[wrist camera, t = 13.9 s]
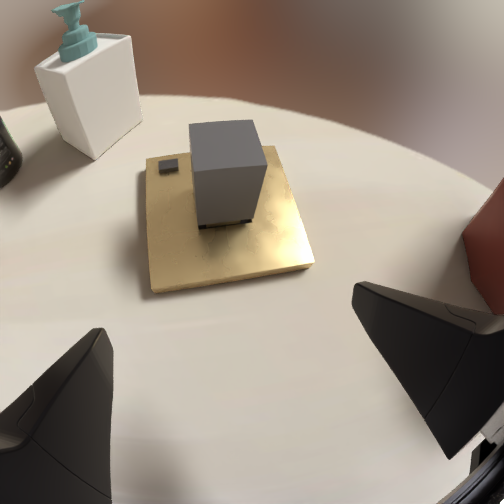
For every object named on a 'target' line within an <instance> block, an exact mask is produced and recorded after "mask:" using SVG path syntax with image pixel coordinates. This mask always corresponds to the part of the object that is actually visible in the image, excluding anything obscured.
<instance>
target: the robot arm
mask: <svg viewBox="0 0 504 504" xmlns="http://www.w3.org/2000/svg"><path fill="white" fill-rule="evenodd" d="M352 307H353V309H354V311H355V313H356V315H357V316H358V318H359V320H360V322H361V323H362V325H363V327H364V329H365V331H366V332H367V334H368V336H369V338H370V339H371V341H372V342H373V343H374V345H375V346H376V348H377V349H378V351H379V352H380V354H381V355H382V356H383V358H384V359H385V361H386V362H387V364H388V365H389V367H390V368H391V370H392V371H393V373H394V374H395V375H396V377H397V378H398V380H399V381H400V383H401V384H402V386H403V387H404V389H405V391H406V392H407V394H408V395H409V397H410V398H411V400H412V401H413V403H414V404H415V406H416V408H417V409H418V411H419V412H420V414H421V415H422V417H423V419H424V420H425V422H426V424H427V425H428V427H429V428H430V430H431V432H432V433H433V435H434V437H435V438H436V440H437V442H438V443H439V445H440V447H441V448H442V450H443V452H444V454H445V455H446V457H447V458H448V459H449V460H450V459H451V458H453V457H454V456H455V455H456V454H457V453H458V452H460V451H461V450H462V449H463V448H464V447H465V446H466V445H467V444H468V443H469V442H470V441H471V440H473V439H474V438H475V437H476V436H477V435H478V434H479V433H480V432H481V434H482V435H483V436H484V437H485V439H484V440H483V441H482V442H481V443H480V444H479V445H478V446H477V447H476V448H475V449H474V450H473V451H472V457H471V465H470V473H469V476H468V477H467V478H466V479H465V480H464V481H463V482H462V483H460V484H459V485H458V486H457V487H456V488H455V489H454V490H452V491H451V492H450V493H449V494H448V495H446V496H445V497H444V498H443V499H442V500H440V501H439V502H438V503H436V504H504V315H494V314H490V313H485V312H480V311H475V310H470V309H466V308H462V307H458V306H454V305H450V304H446V303H442V302H439V301H435V300H432V299H428V298H424V297H421V296H417V295H413V294H410V293H406V292H403V291H399V290H395V289H392V288H388V287H384V286H381V285H377V284H373V283H370V282H366V281H363V282H359V283H356V284H355V285H354V289H353V296H352ZM112 401H113V347H112V345H111V342H110V340H109V338H108V335H107V333H106V331H105V329H104V328H93V329H92V330H90V331H89V332H88V333H87V334H86V335H85V336H84V337H83V338H81V339H80V340H79V341H78V342H77V343H76V344H75V345H74V346H72V347H71V348H70V349H69V350H68V351H67V352H66V353H65V354H64V355H63V356H61V357H60V358H59V359H58V360H57V361H56V362H55V363H54V364H53V365H52V366H51V367H50V368H49V369H47V370H46V371H45V372H44V373H43V374H42V375H41V376H40V377H39V378H38V379H37V380H36V381H35V382H34V383H33V385H31V386H30V387H29V388H28V389H27V390H26V391H25V392H23V393H22V394H21V395H20V396H19V397H18V398H17V399H16V400H15V401H14V402H13V403H11V404H10V405H9V406H8V407H7V408H6V409H5V410H3V411H2V412H1V413H0V504H112V500H111V479H110V434H111V414H112Z"/></svg>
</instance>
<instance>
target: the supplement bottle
mask: <svg viewBox="0 0 504 504" xmlns="http://www.w3.org/2000/svg"><path fill="white" fill-rule="evenodd" d="M21 163H22V153H21V151H20V150H19V148H18V146H17V144H16V143H15V141H14V139H13V138H12V136H11V134H10V133H9V131H8V129H7V127H6V125H5V124H4V122H3V120H2V118H1V116H0V188H1V187H3V186H4V185H6V184H7V183H8V182H9V181H10V180H11V179H12V178H13V177H14V176H15V175H16V173H17V172H18V170H19V168H20V166H21Z"/></svg>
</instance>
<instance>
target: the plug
mask: <svg viewBox="0 0 504 504" xmlns="http://www.w3.org/2000/svg"><path fill="white" fill-rule="evenodd" d="M189 139H190V156H191V171H192V183H193V192H194V200H195V208H196V216H197V223H198V226H199V225H206V227H213V226H221V225H229V224H236V223H240V222H241V220H245V219H253V218H254V214H255V211H256V207H257V203H258V199H259V196H260V192H261V188H262V185H263V181H264V177H265V174H266V170H267V166H268V164H267V161H266V158H265V155H264V152H263V149H262V146H261V143H260V140H259V137H258V134H257V131H256V128H255V126H254V123H253V120H233V121H217V122H205V123H195V124H189Z"/></svg>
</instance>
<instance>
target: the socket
mask: <svg viewBox="0 0 504 504" xmlns="http://www.w3.org/2000/svg"><path fill="white" fill-rule="evenodd" d="M262 149H263V152H264V155H265V158H266V161H267V164H268V166H267V170H266V174H265V177H264V181H263V185H262V188H261V192H260V196H259V199H258V203H257V207H256V211H255V214H254V218H253V219H245V220H241V222H240V223H236V224H229V225H221V226H213V227H206V225H199V226H198V223H197V216H196V208H195V200H194V192H193V183H192V171H191V156H190V153H182V154H174V155H168V156H161V157H155V158H149V159H146V223H147V244H148V259H149V271H150V282H151V289H152V290H153V292H154V293H161V292H168V291H175V290H182V289H188V288H195V287H201V286H207V285H214V284H220V283H226V282H232V281H238V280H244V279H250V278H256V277H262V276H267V275H273V274H279V273H284V272H290V271H295V270H301V269H306V268H310V267H311V265H312V264H313V263H314V258H313V255H312V252H311V249H310V246H309V243H308V239H307V236H306V233H305V230H304V227H303V224H302V221H301V218H300V215H299V212H298V209H297V206H296V204H295V201H294V198H293V195H292V192H291V189H290V187H289V184H288V181H287V178H286V175H285V173H284V170H283V167H282V165H281V162H280V159H279V157H278V154H277V151H276V149H275V146H262Z"/></svg>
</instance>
